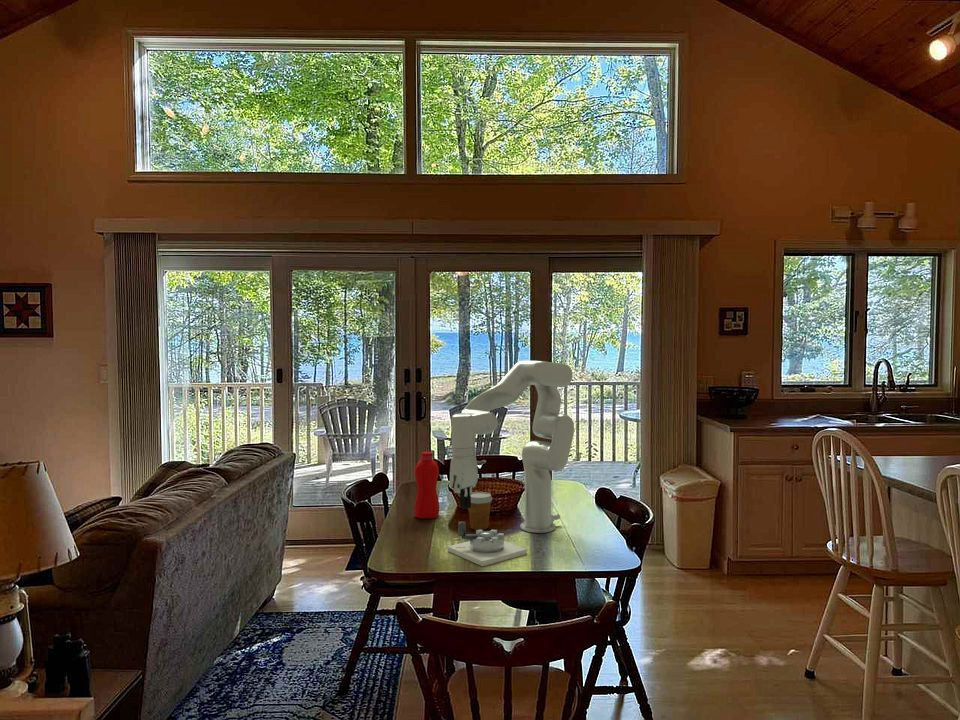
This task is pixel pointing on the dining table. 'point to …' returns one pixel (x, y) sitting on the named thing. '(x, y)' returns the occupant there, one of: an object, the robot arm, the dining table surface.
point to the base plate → (487, 558)
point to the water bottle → (426, 487)
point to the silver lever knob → (482, 539)
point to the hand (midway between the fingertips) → (465, 507)
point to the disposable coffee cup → (479, 510)
